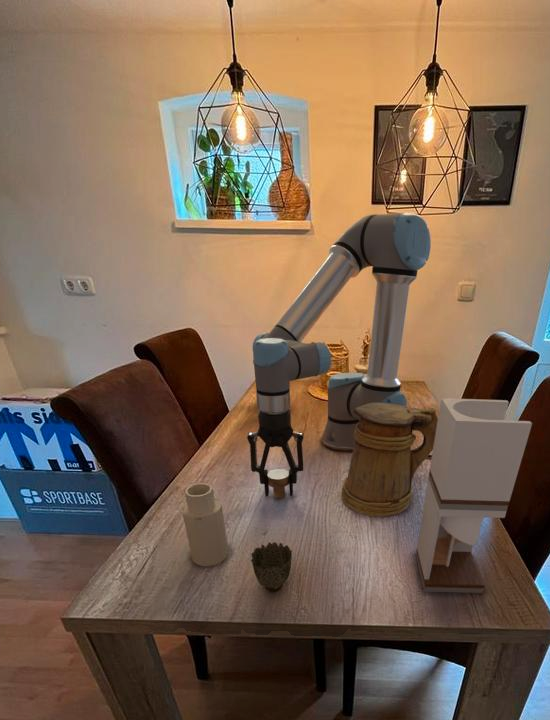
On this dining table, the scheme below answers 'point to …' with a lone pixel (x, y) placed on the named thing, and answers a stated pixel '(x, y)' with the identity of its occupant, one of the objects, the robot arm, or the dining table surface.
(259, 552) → the cup
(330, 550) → the dining table surface
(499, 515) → the white pedestal holder
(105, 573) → the dining table surface
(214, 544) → the bottle
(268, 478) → the cork
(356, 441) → the tankard
